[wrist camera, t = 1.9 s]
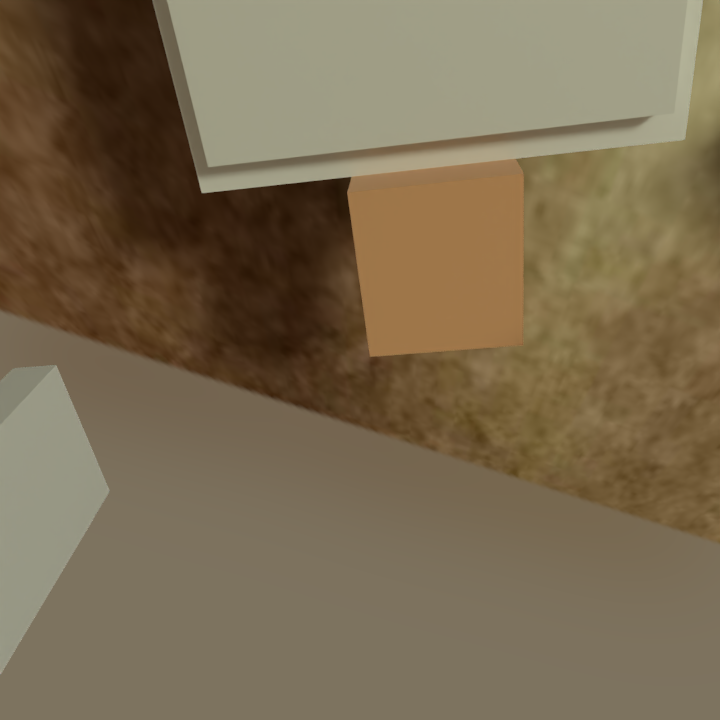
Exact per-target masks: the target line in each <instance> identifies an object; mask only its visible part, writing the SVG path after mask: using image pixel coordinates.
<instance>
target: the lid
mask: <svg viewBox="0 0 720 720" xmlns="http://www.w3.org/2000/svg"><path fill="white" fill-rule="evenodd" d="M152 1H153V5H154V9H155V13H156V17H157V21H158V25H159V29H160V33H161V36H162V40H163V44H164V48H165V52H166V56H167V60H168V64H169V68H170V71H171V75H172V79H173V83H174V87H175V91H176V95H177V99H178V103H179V106H180V110H181V114H182V118H183V122H184V126H185V130H186V134H187V138H188V141H189V145H190V149H191V153H192V157H193V161H194V165H195V169H196V173H197V176H198V180H199V184H200V188H201V192H202V193H209V192H218V191H227V190H236V189H245V188H254V187H263V186H272V185H281V184H291V183H300V182H309V181H318V180H327V179H336V178H345V177H351V181H350V184H349V188H348V191H347V195H348V202H349V209H350V217H351V224H352V231H353V238H354V245H355V252H356V260H357V267H358V274H359V281H360V288H361V296H362V303H363V310H364V317H365V324H366V331H367V339H368V346H369V353H370V357H373V356H386V355H399V354H413V353H426V352H439V351H452V350H466V349H479V348H492V347H506V346H519V345H523V259H524V173H523V171H522V169H521V168H520V166H519V164H518V162H517V161H516V159H517V158H526V157H535V156H544V155H553V154H562V153H571V152H580V151H589V150H598V149H607V148H616V147H625V146H634V145H643V144H652V143H661V142H670V141H679V140H685V136H686V128H687V120H688V113H689V105H690V97H691V89H692V82H693V74H694V66H695V58H696V51H697V43H698V35H699V27H700V20H701V12H702V4H703V0H152Z"/></svg>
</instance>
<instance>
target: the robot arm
mask: <svg viewBox="0 0 720 720" xmlns="http://www.w3.org/2000/svg"><path fill="white" fill-rule="evenodd" d="M109 492H110V491H109V488H108V486H107V484H106V481H105V479H104V477H103V474H102V472H101V469H100V467H99V465H98V462H97V460H96V458H95V456H94V453H93V451H92V448H91V446H90V444H89V441H88V439H87V437H86V434H85V432H84V430H83V427H82V425H81V423H80V420H79V418H78V416H77V413H76V411H75V408H74V406H73V404H72V402H71V399H70V397H69V394H68V392H67V390H66V387H65V385H64V383H63V380H62V378H61V376H60V373H59V371H58V369H57V366H56V365H51V366H38V367H25V368H14V369H12V370H11V371H10V372H9V373H8V374H7V375H6V376H5V377H4V378H3V379H2V380H1V381H0V674H1V673H2V671H3V669H4V668H5V666H6V664H7V663H8V661H9V659H10V657H11V656H12V654H13V653H14V651H15V649H16V647H17V646H18V644H19V643H20V641H21V639H22V638H23V636H24V634H25V633H26V631H27V629H28V628H29V626H30V624H31V622H32V621H33V619H34V617H35V616H36V614H37V612H38V611H39V609H40V607H41V606H42V604H43V602H44V601H45V599H46V597H47V596H48V594H49V592H50V591H51V589H52V587H53V586H54V584H55V582H56V581H57V579H58V577H59V576H60V574H61V572H62V570H63V569H64V567H65V566H66V564H67V562H68V561H69V559H70V557H71V555H72V554H73V552H74V550H75V549H76V547H77V545H78V544H79V542H80V540H81V539H82V537H83V535H84V534H85V532H86V530H87V529H88V527H89V525H90V524H91V522H92V520H93V519H94V517H95V515H96V513H97V512H98V510H99V509H100V507H101V505H102V504H103V502H104V500H105V499H106V497H107V495H108V493H109Z"/></svg>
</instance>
